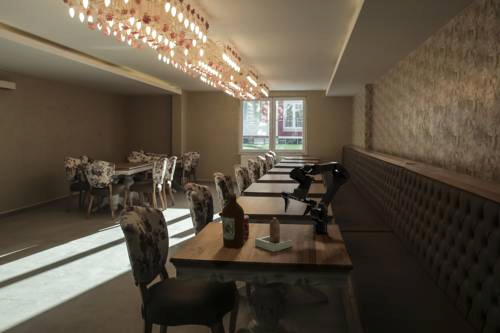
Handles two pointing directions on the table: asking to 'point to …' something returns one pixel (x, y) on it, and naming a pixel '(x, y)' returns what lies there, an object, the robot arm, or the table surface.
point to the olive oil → (233, 223)
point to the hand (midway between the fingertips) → (293, 215)
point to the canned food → (246, 227)
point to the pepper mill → (274, 231)
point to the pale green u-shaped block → (272, 244)
